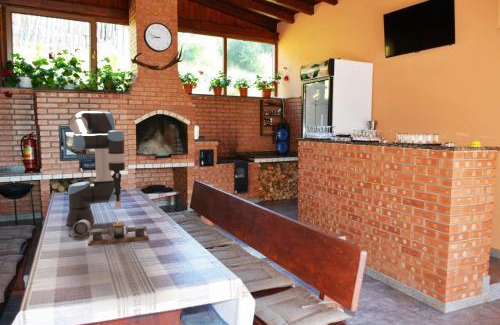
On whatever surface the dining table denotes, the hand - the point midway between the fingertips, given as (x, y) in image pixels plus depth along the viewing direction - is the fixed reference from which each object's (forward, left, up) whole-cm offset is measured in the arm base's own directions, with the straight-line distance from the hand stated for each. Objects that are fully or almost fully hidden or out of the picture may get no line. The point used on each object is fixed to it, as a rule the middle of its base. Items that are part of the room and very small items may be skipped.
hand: (117, 204), depth 194 cm
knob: (0, 0, -16) cm, 16 cm away
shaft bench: (0, 0, -18) cm, 18 cm away
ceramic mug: (-24, -3, -18) cm, 30 cm away
